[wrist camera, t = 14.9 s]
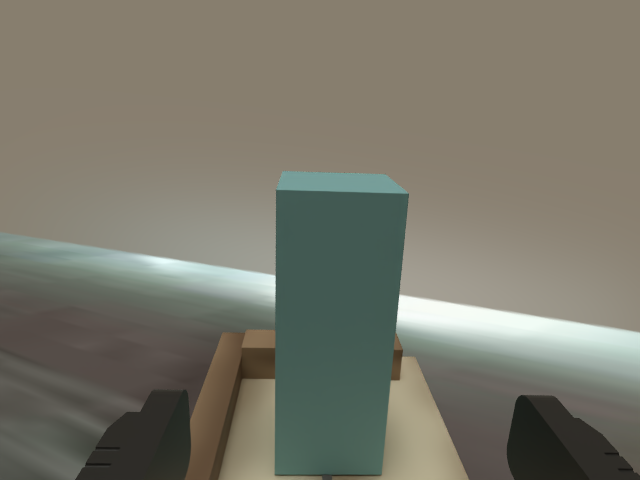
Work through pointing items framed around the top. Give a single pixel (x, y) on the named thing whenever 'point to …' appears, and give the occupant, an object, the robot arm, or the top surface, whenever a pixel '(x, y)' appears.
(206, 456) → the board
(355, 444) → the block
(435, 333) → the top surface
